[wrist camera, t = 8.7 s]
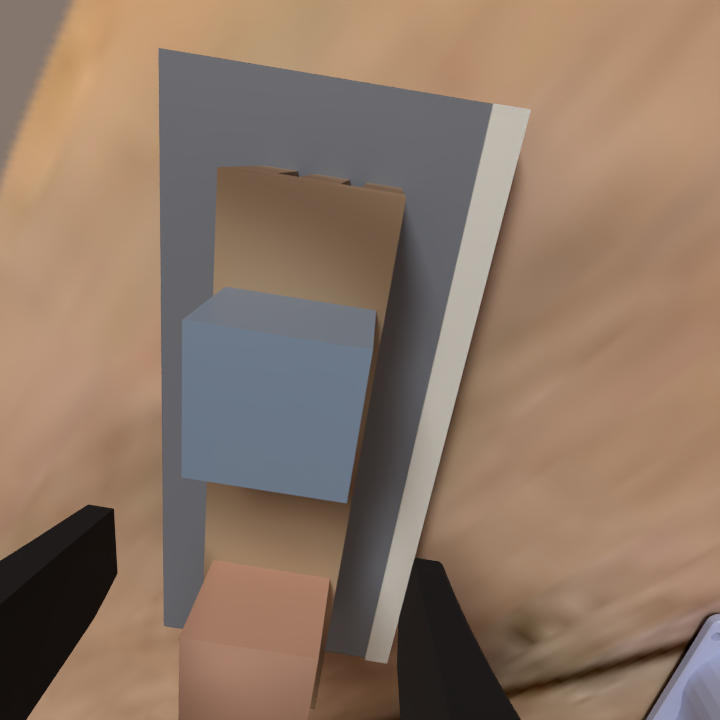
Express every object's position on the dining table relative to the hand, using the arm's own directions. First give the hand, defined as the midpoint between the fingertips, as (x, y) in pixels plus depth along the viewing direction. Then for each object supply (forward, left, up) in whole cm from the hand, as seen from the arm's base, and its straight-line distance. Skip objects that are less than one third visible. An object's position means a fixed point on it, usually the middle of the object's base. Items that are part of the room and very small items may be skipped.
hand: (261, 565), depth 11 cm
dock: (0, 0, -8) cm, 8 cm away
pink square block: (-4, 0, -2) cm, 5 cm away
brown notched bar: (0, 0, -6) cm, 6 cm away
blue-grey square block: (+4, 0, -2) cm, 5 cm away
